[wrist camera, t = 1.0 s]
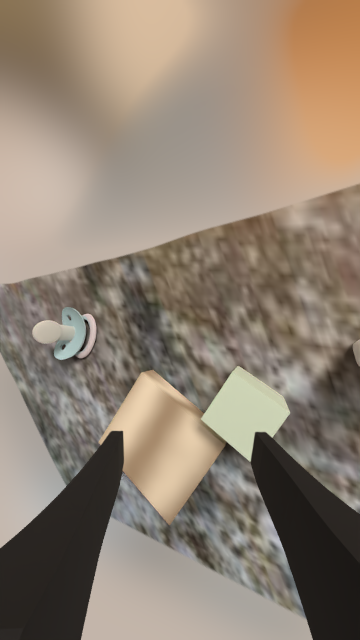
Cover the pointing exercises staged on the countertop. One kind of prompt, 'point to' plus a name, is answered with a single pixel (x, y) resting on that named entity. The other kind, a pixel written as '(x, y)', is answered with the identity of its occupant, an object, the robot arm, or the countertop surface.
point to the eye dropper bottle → (357, 351)
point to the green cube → (245, 411)
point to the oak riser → (164, 443)
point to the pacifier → (67, 334)
